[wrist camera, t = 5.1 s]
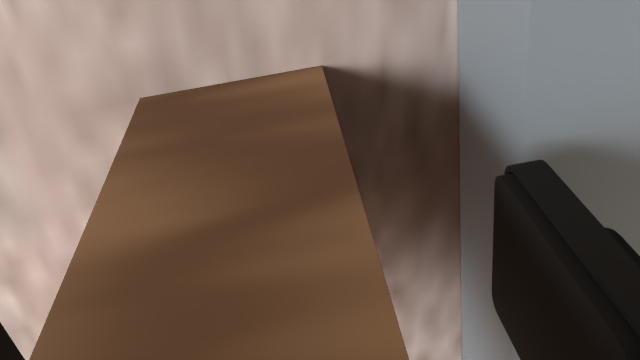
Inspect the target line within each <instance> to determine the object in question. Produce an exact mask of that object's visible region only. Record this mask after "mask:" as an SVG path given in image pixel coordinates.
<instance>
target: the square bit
mask: <svg viewBox="0 0 640 360" xmlns="http://www.w3.org/2000/svg"><path fill="white" fill-rule="evenodd" d="M30 360H409V358H408V354H407V351H406V348H405V344H404V341H403V338H402V334H401V331H400V328H399V324H398V321H397V317H396V314H395V311H394V307H393V304H392V301H391V297H390V294H389V290H388V287H387V284H386V280H385V277H384V274H383V270H382V267H381V263H380V260H379V257H378V253H377V250H376V247H375V243H374V240H373V236H372V233H371V230H370V226H369V223H368V220H367V216H366V213H365V209H364V206H363V203H362V199H361V196H360V193H359V189H358V186H357V183H356V179H355V176H354V172H353V169H352V166H351V162H350V159H349V156H348V152H347V149H346V145H345V142H344V139H343V135H342V132H341V129H340V125H339V122H338V118H337V115H336V112H335V108H334V105H333V102H332V98H331V95H330V91H329V88H328V85H327V81H326V78H325V75H324V71H323V68H322V66H318V67H312V68H306V69H301V70H295V71H290V72H284V73H279V74H273V75H267V76H262V77H256V78H251V79H245V80H240V81H234V82H228V83H223V84H217V85H212V86H206V87H201V88H195V89H190V90H184V91H178V92H173V93H167V94H162V95H156V96H151V97H145V98H140V100H139V102H138V105H137V107H136V109H135V112H134V114H133V116H132V119H131V121H130V123H129V126H128V128H127V130H126V133H125V135H124V138H123V140H122V142H121V145H120V147H119V149H118V152H117V154H116V156H115V159H114V161H113V164H112V166H111V168H110V171H109V173H108V175H107V178H106V180H105V182H104V185H103V187H102V190H101V192H100V194H99V197H98V199H97V201H96V204H95V206H94V208H93V211H92V213H91V216H90V218H89V220H88V223H87V225H86V227H85V230H84V232H83V234H82V237H81V239H80V241H79V244H78V246H77V249H76V251H75V253H74V256H73V258H72V260H71V263H70V265H69V267H68V270H67V272H66V275H65V277H64V279H63V282H62V284H61V286H60V289H59V291H58V293H57V296H56V298H55V301H54V303H53V305H52V308H51V310H50V312H49V315H48V317H47V319H46V322H45V324H44V327H43V329H42V331H41V334H40V336H39V338H38V341H37V343H36V345H35V348H34V350H33V352H32V355H31V357H30Z"/></svg>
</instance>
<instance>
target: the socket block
mask: <svg viewBox="0 0 640 360" xmlns="http://www.w3.org/2000/svg"><path fill="white" fill-rule="evenodd" d="M458 74H459V151H460V228H461V305H462V360H520V358H519V356H518V354H517V352H516V350H515V348H514V346H513V344H512V342H511V340H510V338H509V336H508V334H507V332H506V330H505V328H504V326H503V324H502V322H501V320H500V319H499V317H498V315H497V312H496V310H495V307H494V304H493V300H492V257H493V221H494V185H495V179H496V177H497V176H500V175H504V171H505V169H506V167H507V166H508V165H512V164H518V163H523V162H529V161H535V160H544V161H545V162H546V163H547V164H548V165H549V166H550V167H551V168H552V169H553V170H554V171H555V173H556V174H557V175H558V176H559V177H560V178H561V179H562V180H563V182H564V183H565V184H566V185H567V186H568V187H569V188H570V189H571V191H572V192H573V193H574V194H575V195H576V196H577V197H578V198H579V200H580V201H581V202H582V203H583V204H584V205H585V206H586V207H587V209H588V210H589V211H590V212H591V213H592V214H593V215H594V216H595V217H596V219H597V220H598V221H599V222H600V223H601V224H602V225H603V226H604V228H610V229H613V230H615V231H616V232H617V233H618V234H620V235H621V236H622V237H623V238H624V239H625V241H626V242H627V243H628V244H629V245H630V246H631V247H632V248H633V249H634V250H635V251H636V253H637V254H638V255H639V256H640V0H458Z"/></svg>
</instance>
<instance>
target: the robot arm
mask: <svg viewBox="0 0 640 360" xmlns="http://www.w3.org/2000/svg"><path fill="white" fill-rule="evenodd" d="M492 300H493V304H494V307H495V310H496V312H497V315H498V317H499V319H500V320H501V322H502V324H503V326H504V328H505V330H506V332H507V334H508V336H509V338H510V340H511V342H512V344H513V346H514V348H515V350H516V352H517V354H518V356H519V358H520V360H640V256H639V255H638V254H637V253H636V251H635V250H634V249H633V248H632V247H631V246H630V245H629V244H628V243H627V242H626V241H625V239H624V238H623V237H622V236H621V235H620V234H618V233H617V232H616V231H615V230H613V229H610V228H604V226H603V225H602V224H601V223H600V222H599V221H598V220H597V219H596V217H595V216H594V215H593V214H592V213H591V212H590V211H589V210H588V209H587V207H586V206H585V205H584V204H583V203H582V202H581V201H580V200H579V198H578V197H577V196H576V195H575V194H574V193H573V192H572V191H571V189H570V188H569V187H568V186H567V185H566V184H565V183H564V182H563V180H562V179H561V178H560V177H559V176H558V175H557V174H556V173H555V171H554V170H553V169H552V168H551V167H550V166H549V165H548V164H547V163H546V162H545V161H544V160H535V161H529V162H523V163H518V164H512V165H508V166H507V167H506V169H505V171H504V175H500V176H497V177H496V179H495V185H494V221H493V257H492ZM0 360H25V359H24V358H23V356H22V355H21V353H20V352H19V350H18V349H17V347H16V346H15V344H14V343H13V341H12V340H11V338H10V337H9V335H8V334H7V332H6V330H5V329H4V327H3V326H2V324H1V323H0Z"/></svg>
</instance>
